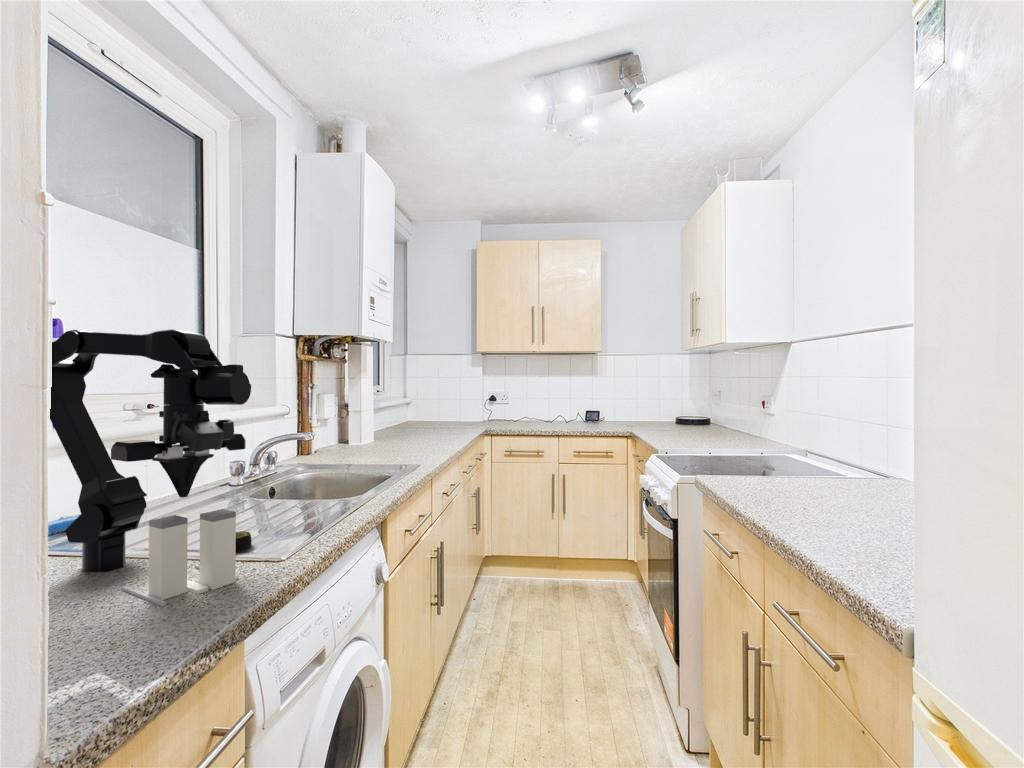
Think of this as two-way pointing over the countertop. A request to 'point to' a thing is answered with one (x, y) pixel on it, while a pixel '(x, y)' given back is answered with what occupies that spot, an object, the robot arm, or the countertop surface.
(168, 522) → the tab
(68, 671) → the countertop surface
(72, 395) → the robot arm
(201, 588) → the switch board
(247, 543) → the tape measure
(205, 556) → the tab
